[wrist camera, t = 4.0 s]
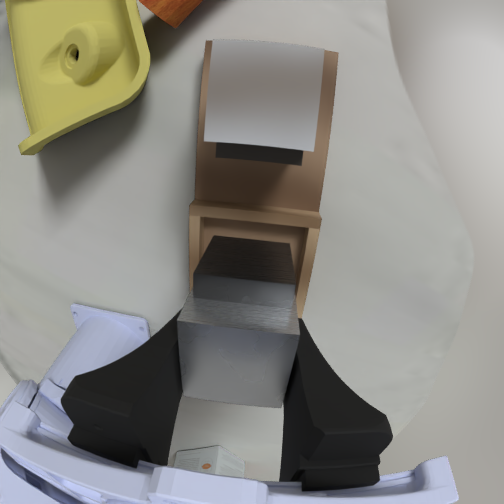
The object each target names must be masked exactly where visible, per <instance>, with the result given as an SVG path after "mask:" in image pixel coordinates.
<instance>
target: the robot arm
mask: <svg viewBox="0 0 504 504" xmlns="http://www.w3.org/2000/svg"><path fill="white" fill-rule="evenodd" d="M70 309H71V312H72V315H73V319H74V322H75V325H76V328H77V331H76V332H75V334H74V335H73V336H72V338H71V339H70V340H69V342H68V343H67V345H66V346H65V347H64V349H63V350H62V351H61V353H60V354H59V356H58V357H57V358H56V360H55V361H54V363H53V364H52V366H51V367H50V369H49V370H48V371H47V373H46V374H45V376H44V377H43V379H42V380H41V382H40V383H39V384H36V383H35V382H34V381H33V380H29V381H28V380H22V381H21V382H20V383H19V384H18V385H17V386H16V387H15V388H14V390H13V391H12V392H11V393H10V395H9V396H8V398H7V399H6V400H5V402H4V403H3V405H2V406H1V408H0V504H452V503H454V502H456V501H458V499H459V497H458V493H457V489H456V486H455V482H454V478H453V475H452V471H451V467H450V464H449V461H448V458H447V456H441V457H438V458H434V459H430V460H426V461H424V462H422V463H420V464H419V465H418V466H417V467H416V468H415V469H414V470H409V471H404V472H399V473H394V474H388V475H382V476H379V470H378V465H379V464H380V457H379V455H380V454H381V453H382V452H383V450H384V449H385V448H386V447H387V446H388V445H389V444H390V442H391V441H392V438H393V435H392V431H391V427H390V424H389V422H388V419H387V417H386V415H385V414H383V413H382V412H380V411H379V410H377V409H376V408H374V407H372V406H371V405H370V404H368V403H367V402H366V401H364V400H363V399H362V398H360V397H359V396H358V395H357V394H356V393H355V392H354V391H352V390H351V389H350V388H349V387H348V386H347V385H346V384H345V383H344V382H343V381H342V380H341V379H340V378H339V376H338V375H337V374H336V373H335V372H334V370H333V369H332V368H331V367H330V365H329V364H328V363H327V361H326V360H325V358H324V357H323V355H322V354H321V352H320V351H319V349H318V348H317V346H316V344H315V343H314V341H313V339H312V337H311V336H310V334H309V332H308V330H307V328H306V326H305V324H304V321H303V320H302V319H301V318H298V321H299V330H300V337H299V341H298V346H297V350H296V354H295V358H294V362H293V366H292V370H291V374H290V377H289V381H288V385H287V389H286V392H285V396H284V400H283V405H284V424H283V443H282V457H281V469H280V479H279V482H273V481H258V480H255V479H249V478H243V477H234V476H226V475H218V474H211V473H205V472H199V471H193V470H188V469H183V468H178V467H171V466H167V463H168V457H169V450H170V445H171V439H172V434H173V429H174V424H175V420H176V415H177V411H178V407H179V402H180V399H181V396H182V393H183V387H182V378H181V367H180V356H179V344H178V330H177V319H178V317H179V315H180V313H181V311H182V309H181V310H180V311H179V312H178V313H177V314H176V315H175V316H174V317H173V318H172V319H171V320H170V321H169V322H168V323H167V324H166V325H165V326H164V327H163V328H162V329H160V330H159V331H158V332H157V333H156V334H155V335H153V336H152V337H151V338H150V332H149V326H148V322H147V320H146V319H144V318H141V317H136V316H130V315H125V314H120V313H116V312H111V311H106V310H101V309H97V308H92V307H88V306H84V305H80V304H75V303H73V304H72V305H71V306H70ZM142 327H143V328H144V329H143V328H142Z"/></svg>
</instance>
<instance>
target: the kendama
mask: <svg viewBox="0 0 504 504" xmlns="http://www.w3.org/2000/svg"><path fill="white" fill-rule="evenodd" d="M139 1H140V2H141V3H142V4H143V5H144V6H145V7H147V8H148V9H149V10H150V11H152V12H153V13H154V14H155V15H157V16H158V17H159V18H161V19H162V20H163V21H165V22H166V23H168V24H169V25H171V26H172V27H174V28H177V27H178V26H179V25H180V24H181V23H182V21H183V20H184V19H185V18H186V17H187V16H188V15H189V14H190V13H191V12H192V11H193V10H194V9H195V8H196V7H197V6H198V5H199V4H200V3H201V2H202V1H203V0H139Z"/></svg>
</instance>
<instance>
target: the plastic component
mask: <svg viewBox="0 0 504 504" xmlns="http://www.w3.org/2000/svg"><path fill="white" fill-rule="evenodd" d="M5 3H6V10H7V17H8V24H9V31H10V38H11V44H12V51H13V57H14V63H15V69H16V75H17V80H18V85H19V90H20V95H21V99H22V103H23V108H24V112H25V115H26V119H27V123H28V127H29V130H30V135H31V136H30V137H28V138H26V139H25V140H24V141H22V142H21V143H20V144H19V145H18V146H19V150H20V153H21V155H35V154H36V153H38V152H40V151H41V150H42V149H43V148H44V145H46V144H47V143H49V142H50V141H52V140H54V139H56V138H58V137H60V136H62V135H64V134H66V133H68V132H70V131H72V130H74V129H76V128H78V127H80V126H82V125H84V124H86V123H89V122H91V121H93V120H95V119H97V118H100V117H102V116H104V115H107V114H109V113H112V112H114V111H116V110H119V109H121V108H123V107H125V106H127V105H128V104H130V103H131V102H132V101H133V100H134V99H135V98H136V97H137V96H138V95H139V94H140V92H141V91H142V89H143V87H144V85H145V82H146V79H147V75H148V72H149V67H150V52H149V49H148V45H147V41H146V38H145V34H144V30H143V26H142V22H141V18H140V15H139V11H138V7H137V3H136V0H5ZM77 50H78V51H79V58H78V60H76V52H77Z"/></svg>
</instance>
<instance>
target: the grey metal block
mask: <svg viewBox="0 0 504 504" xmlns="http://www.w3.org/2000/svg"><path fill="white" fill-rule="evenodd" d="M295 288H296V280H295V273H294V267H293V260H292V253H291V247H290V243H283V242H274V241H265V240H255V239H246V238H236V237H227V236H217V235H214V236H213V237H212V239H211V241H210V243H209V245H208V247H207V248H206V250H205V252H204V254H203V256H202V258H201V260H200V261H199V263H198V265H197V267H196V269H195V271H194V273H193V287H192V290H191V292H190V294H189V296H188V298H187V300H186V302H185V304H184V306H183V308H182V311H181V313H180V315H179V317H178V319H177V330H178V344H179V356H180V367H181V378H182V387H183V396H185V397H191V398H197V399H203V400H209V401H216V402H223V403H231V404H239V405H248V406H259V407H271V408H281V407H282V403H283V400H284V396H285V392H286V389H287V385H288V381H289V377H290V374H291V370H292V366H293V362H294V358H295V354H296V350H297V346H298V341H299V337H300V330H299V321H298V313H297V304H296V296H295Z"/></svg>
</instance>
